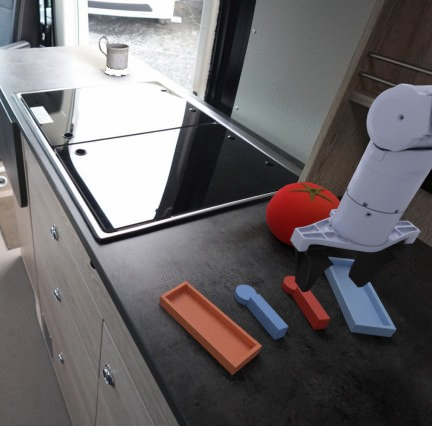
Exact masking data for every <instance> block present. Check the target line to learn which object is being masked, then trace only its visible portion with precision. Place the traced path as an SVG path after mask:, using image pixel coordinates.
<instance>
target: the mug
mask: <svg viewBox="0 0 432 426" xmlns="http://www.w3.org/2000/svg"><path fill="white" fill-rule="evenodd" d="M102 39H104V40H105V41H106V44H105V48H106V52H104V51H103V50H102V47H101V40H102ZM98 48H99V51H100V52H101V53H102V54H103V55H104V56H105V58H106V63H105V64H106V65H105V66H107V67H108V68H110V69H114V70H124V69H126V68H128V61H129V48H130V45H128V44H126V43H120V42H119V43H118V42H116V43H115V42H113V43H109V39H108V35H102V36H101V37H100V38H99V39H98Z"/></svg>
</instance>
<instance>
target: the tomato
mask: <svg viewBox="0 0 432 426" xmlns="http://www.w3.org/2000/svg"><path fill="white" fill-rule="evenodd" d="M340 202H341V200H339V199H338V197H337V196H336V195H335V194H333V193H332V191H330V190H328V189H327V188H326V187H323V186H321V185H318V184H315V183H312V182H306V181H301V180H299V182H294V183H290V184H286V185H284V186H283V187H282V188H280V189H278V191H276V193H275V194H274V195H273V196H272V198H271V199H270V200H269V202H268V204H267V206H266V209H265V210H266V211H265V220H266V224H267V226H268V228H269V230H270V232H271V233H272V234H273V235H274V236H275V237H276V238H277V239H278V240H279V241H280V242H281V243H284V244H286V245H288V246H290V247H293V248H294V245H293V243H292V242H291V241H290V240H291V237H292V235H293V232H294V230H295V228H300V227H306V226H309V225H311V224H314V223H316V222H319V221H322V220H324V219H327V218H329V217H331V216H330V215H329V214H330V212H331V210H333V209H337V208H338V206H339V204H340Z"/></svg>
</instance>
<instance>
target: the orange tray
mask: <svg viewBox="0 0 432 426" xmlns="http://www.w3.org/2000/svg"><path fill="white" fill-rule="evenodd" d="M158 304H159V305H160V306H161V307H162V308H163V309H164V310H165V311H166V312H167V313H168V314H169V315H170V316H171V317H172V318H173V319H174V320H175V321H176V322H177V323H178V324H179V325H180V326H182V328H183V329H185V331H187V333H189V334H190V336H192V337H193V338H194V339H195V340H196V341H197V342H198V343H199V345H201V346H202V347H203V348H204V349H205V350H206V351H207V352H208V353H209V354H210V355H211V357H213V358H214V359H215V360H216V361H217V362H218V363H219V364H220V365H221V366H222V367H223V368H224V369H225V370H226V371H228V373H230V374H231V375H232V376H234V375H235V374H236V373H237V372H239V371H240V370H241V369H242V368H243V367H244V366H245V365H247V364H248V363H249V362H251V360H252V359H254V358H255V357H256V356H258V354H259V353H260V351H261V350H262V347H263V345H262V344H260V343H259V342H258V341H257V340H256V339H255V338H254V337H252V335H250V334H249V333H248V332H247V331H245V330H244V329H243V328H242V327H241V326H239V324H237V323H236V322H235V321H234V320H233V319H231V317H229V316H228V315H227V314H225V313H224V312H223V311H222V310H221V309H220V308H219V307H217V306H216V305H215V304H214V303H212V301H211V300H209V299H208V298H207V297H206V296H204V295H203V294H202V293H201V292H200V291H199V290H198V289H197V288H196V287H194V286H193V285H192V284H191V283H190V282H188V281H187V280H185V281H183V282H181V283H180V284H178V285H176V286H174V287H173V288H172V289H170V290H168V291H166V292H165V293H163V294H161V295H160V296H159V303H158Z"/></svg>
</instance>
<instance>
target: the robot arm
mask: <svg viewBox="0 0 432 426" xmlns="http://www.w3.org/2000/svg"><path fill="white" fill-rule="evenodd" d="M366 131H367V134H368V136H369V139H370V140H369V142H368V144H367V146H366V149H365V151H364V153H363V154H362V157H361V158H360V161H359V163H358V165H357V167H356V169H355V171H354V173H353V175H352V177H351V180H350V181H349V183H348V186H347V188H346V190H345V192H344V194H343V195H342V198H341V200H340V204H339V206H338V208H337V209H333V210H331V212H330V214H329V215H330V216H331V217H329V218H327V219H324V220H322V221H319V222H316V223H314V224H311V225H309V226H306V227H300V228H295V230H294V232H293V235H292V237H291V240H290V241H291V242H292V243H293V245H294V247H293V250H294V254H295V275H294V276H295V283H296V284H297V286H298V287H299V288H300V290H301V291H302V292H308V291H309V290H310V291H311V290H312V288H313V287H314V285H315V284H316V282H317V281H318V279H319V277H320V276H321V275H323V273H325V272H324V271H325V270H326V269H328V268H329V267H331V266H333V265H334V264H333V262H332V261H331V260H330V259H329V258H328V257H329V256H328V255H327V252H328V250H326V248H327V247H333V248H337V249H338V248H339V249H344V250H351V251H357V254H356V256H355V258H354V259H353V260H354V262H353V264H352V266H351V268H350V271H349V275H348V277H349V278H350V279H351V280H352V281H353V282H354V284H355V285H356V286H357V287H358V288H360V287H363V286H365V285H366V284H367V283H369V282H370V283H371V281H373V280H374V279H375V278H377V277H378V276H379V275H380V274H381V273H384V271H386V270H388V269H390V268H391V267H393V266H396V265H398V264H400V263H402V262H403V263H404V262H406V261H408V260H409V259H410V258H411V256H412V252H411V250H409V249H408V247H406V246H405V245H406V244H407V245H408V244H409V245H410V244H414V243H415V241H416V239H417V238H418V237H419V235H420V233H421V232H422V230H421V229H419V228H418V227H417V226H416V225H414V224H413V223H412V222H411V221H409V220H401V218H402V216H403V215H404V214H405V212H406V210H407V208H408V207H409V205H410V203H411V202H412V200H413V199H414V197H415V195H416V194H417V192H418V191H419V189H420V187H421V186H422V184H423V183H424V182H425V179H426V178H427V176H428V175H429V173H430V171H431V170H432V84H431V85H429V84H428V85H413V84H410V83H399V84H397V85H395V86H394V87H390V88H388V89H385V90H384V91H383V92H381V93H380V94H379V95H377V97H376V98H375V99H374V100H373V102H372V103H371V105H370V107H369V110H368V112H367V117H366ZM404 244H405V245H404Z"/></svg>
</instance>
